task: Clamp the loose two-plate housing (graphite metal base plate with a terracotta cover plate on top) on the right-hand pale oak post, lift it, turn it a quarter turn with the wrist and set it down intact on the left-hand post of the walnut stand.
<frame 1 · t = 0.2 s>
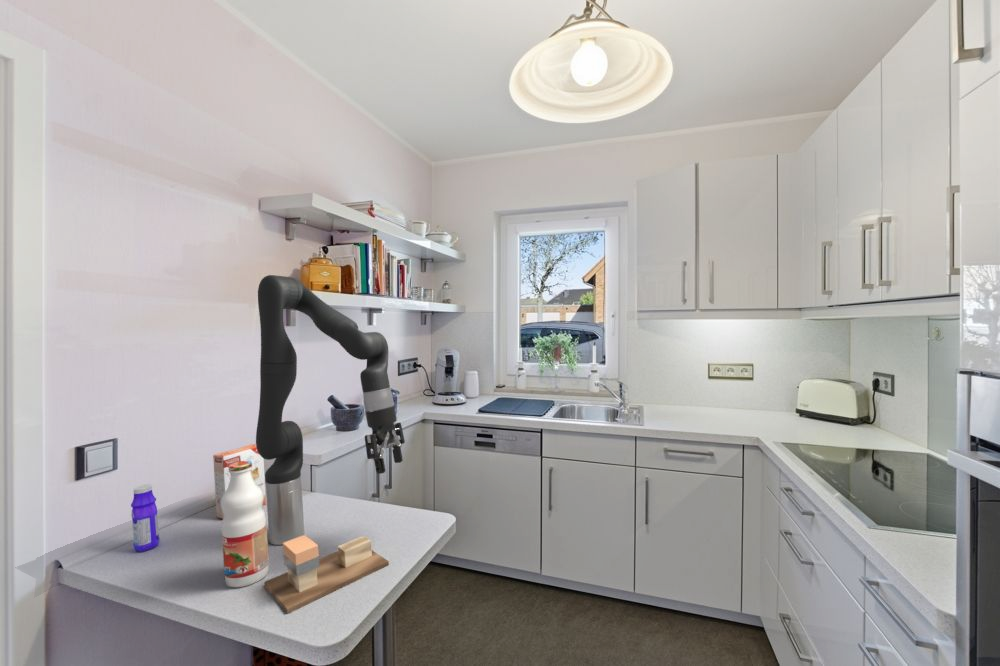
hand: (390, 467, 115), 22 cm above the table, tool pointing down, fingers open, 8 cm apart
cracker box: (242, 511, 148), on the table
twin stand: (328, 575, 106), on the table
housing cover: (300, 554, 102), point 7 cm above the table, touching housing base
bottle: (146, 547, 126), on the table
fruit juice: (247, 577, 107), on the table
housing base: (301, 565, 102), point 5 cm above the table, touching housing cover, twin stand
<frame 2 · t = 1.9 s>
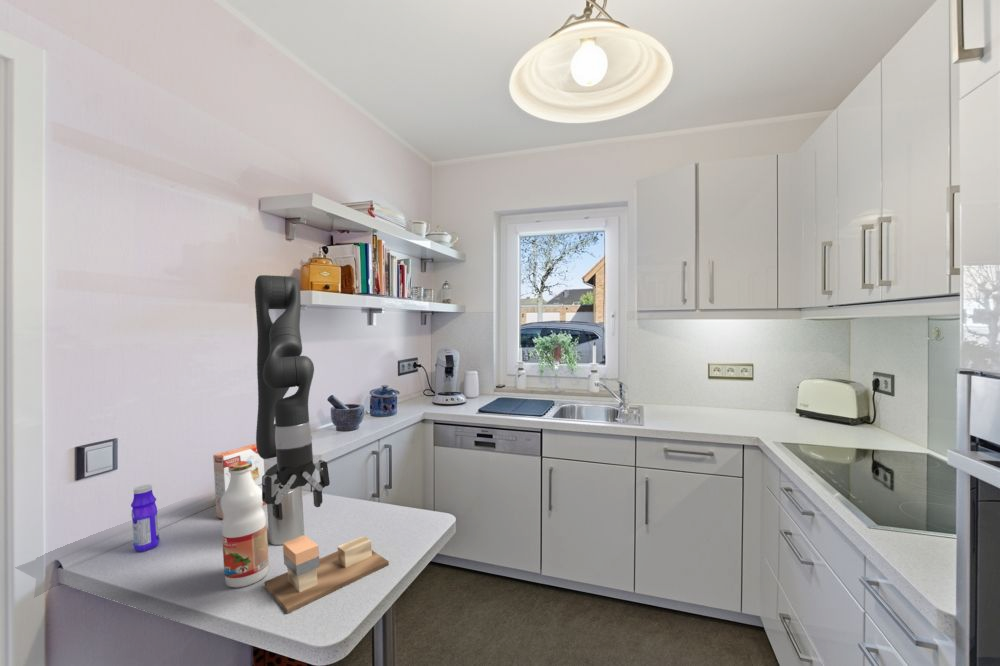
hand: (298, 512, 101), 17 cm above the table, tool pointing down, fingers open, 8 cm apart
nothing on the table moved.
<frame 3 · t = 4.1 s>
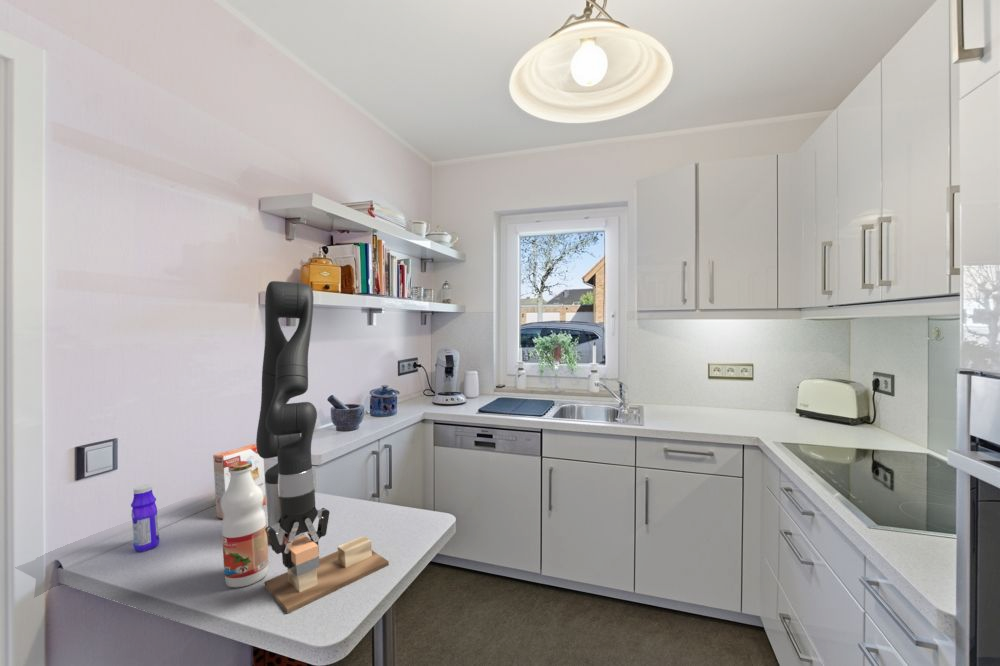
hand: (301, 561, 102), 6 cm above the table, tool pointing down, fingers closed on housing base, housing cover, 5 cm apart
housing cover: (300, 554, 102), point 7 cm above the table, touching gripper, housing base
housing base: (301, 565, 102), point 5 cm above the table, touching gripper, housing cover, twin stand
everything else where it was.
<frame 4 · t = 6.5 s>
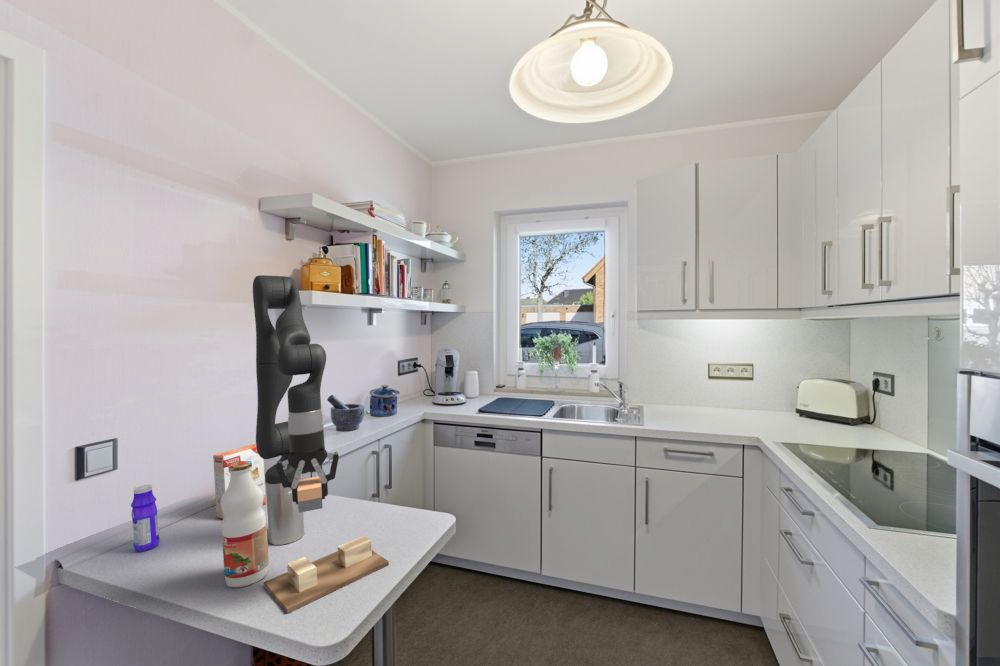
hand: (310, 500, 104), 19 cm above the table, tool pointing down, fingers closed on housing base, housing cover, 5 cm apart
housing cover: (310, 493, 103), point 21 cm above the table, touching gripper, housing base
housing base: (310, 504, 104), point 18 cm above the table, touching gripper, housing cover
everything else where it was.
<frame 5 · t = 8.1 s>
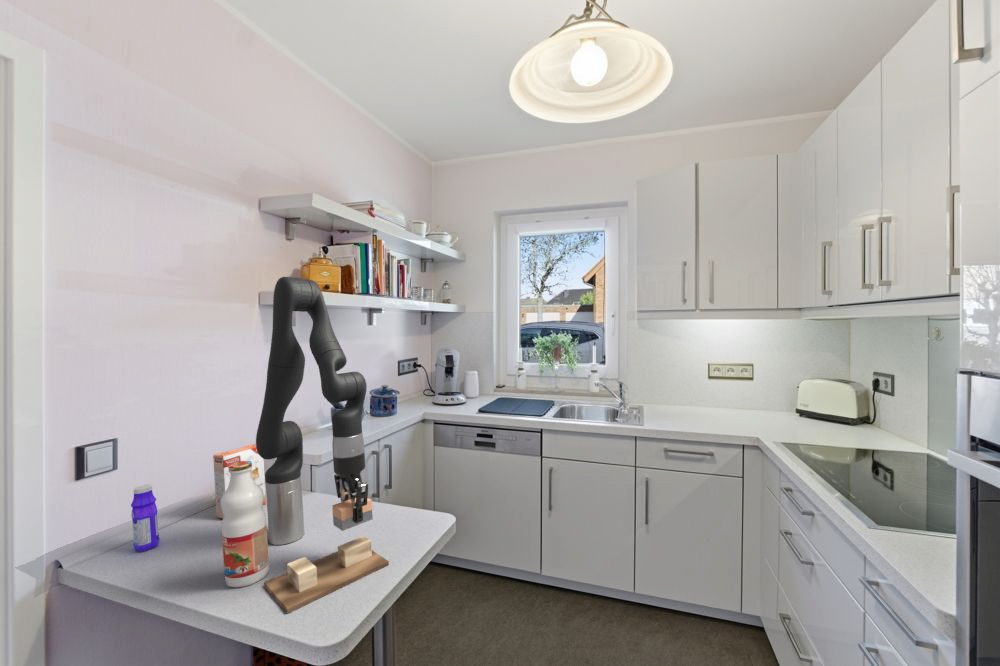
hand: (353, 518, 111), 11 cm above the table, tool pointing down, fingers closed on housing base, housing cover, 5 cm apart
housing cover: (352, 512, 111), point 13 cm above the table, touching gripper, housing base
housing base: (353, 522, 111), point 10 cm above the table, touching gripper, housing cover
everything else where it was.
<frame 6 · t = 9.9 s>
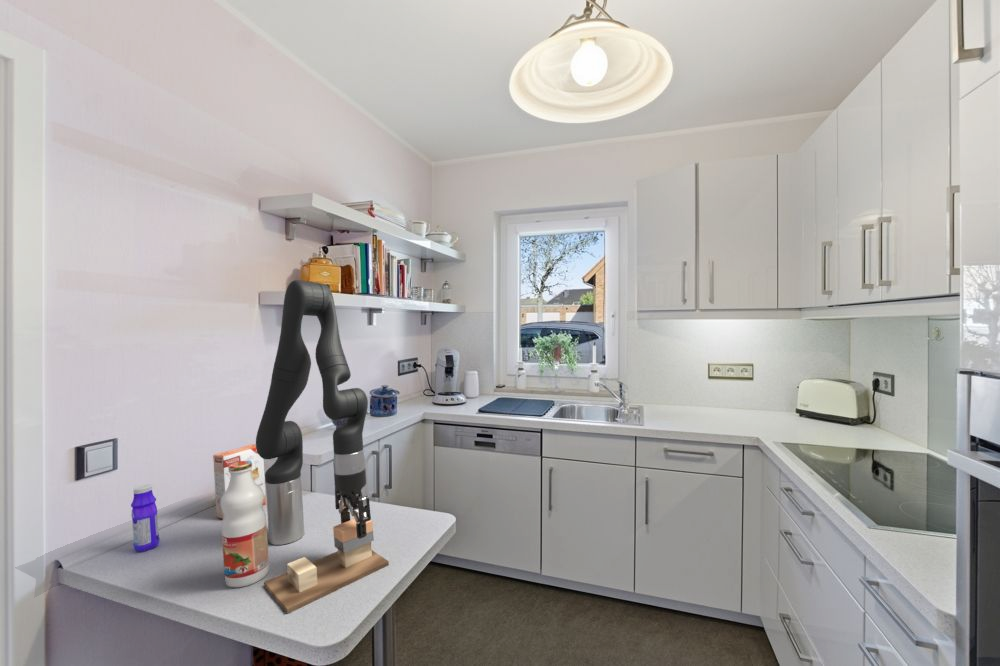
hand: (353, 532, 111), 8 cm above the table, tool pointing down, fingers open, 8 cm apart
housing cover: (353, 533, 111), point 7 cm above the table, touching housing base
housing base: (354, 543, 111), point 5 cm above the table, touching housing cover, twin stand
everything else where it was.
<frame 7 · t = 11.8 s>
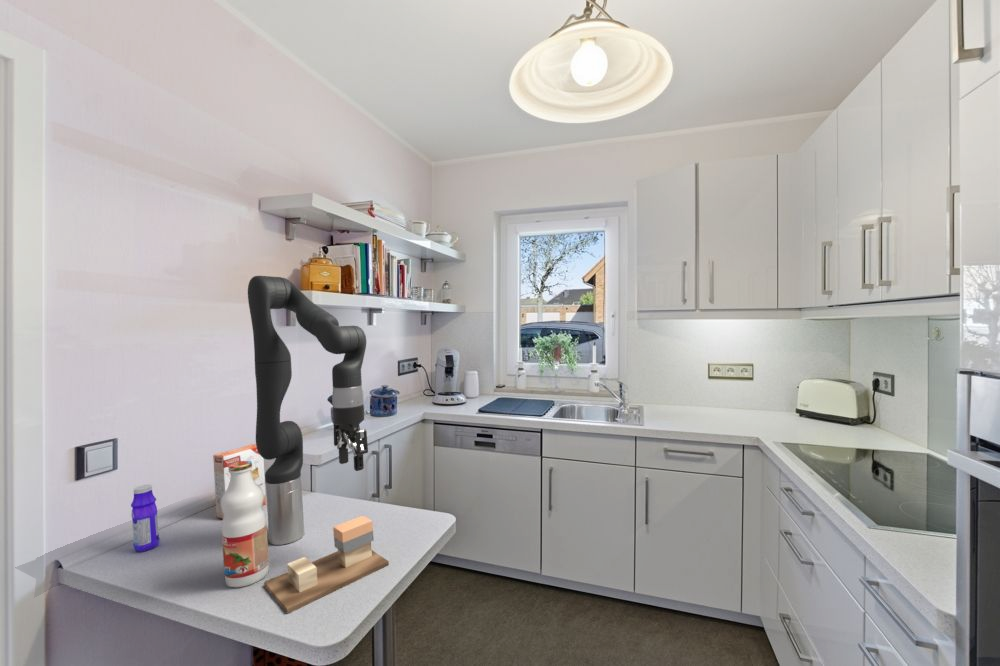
hand: (351, 466, 113), 24 cm above the table, tool pointing down, fingers open, 8 cm apart
nothing on the table moved.
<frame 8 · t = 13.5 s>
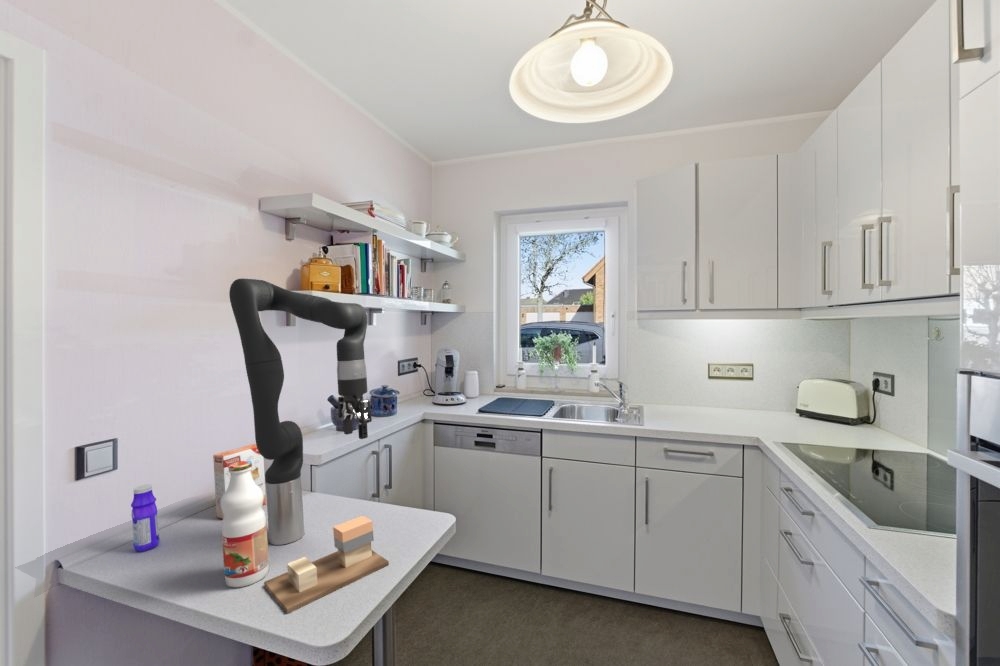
hand: (355, 436, 119), 30 cm above the table, tool pointing down, fingers open, 8 cm apart
nothing on the table moved.
at the end: housing base 0.0 cm from the target spot, point 5.0 cm above the table; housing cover 0.1 cm off-centre on the housing base, point 2.5 cm above the housing base's base; the gripper is holding nothing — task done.
